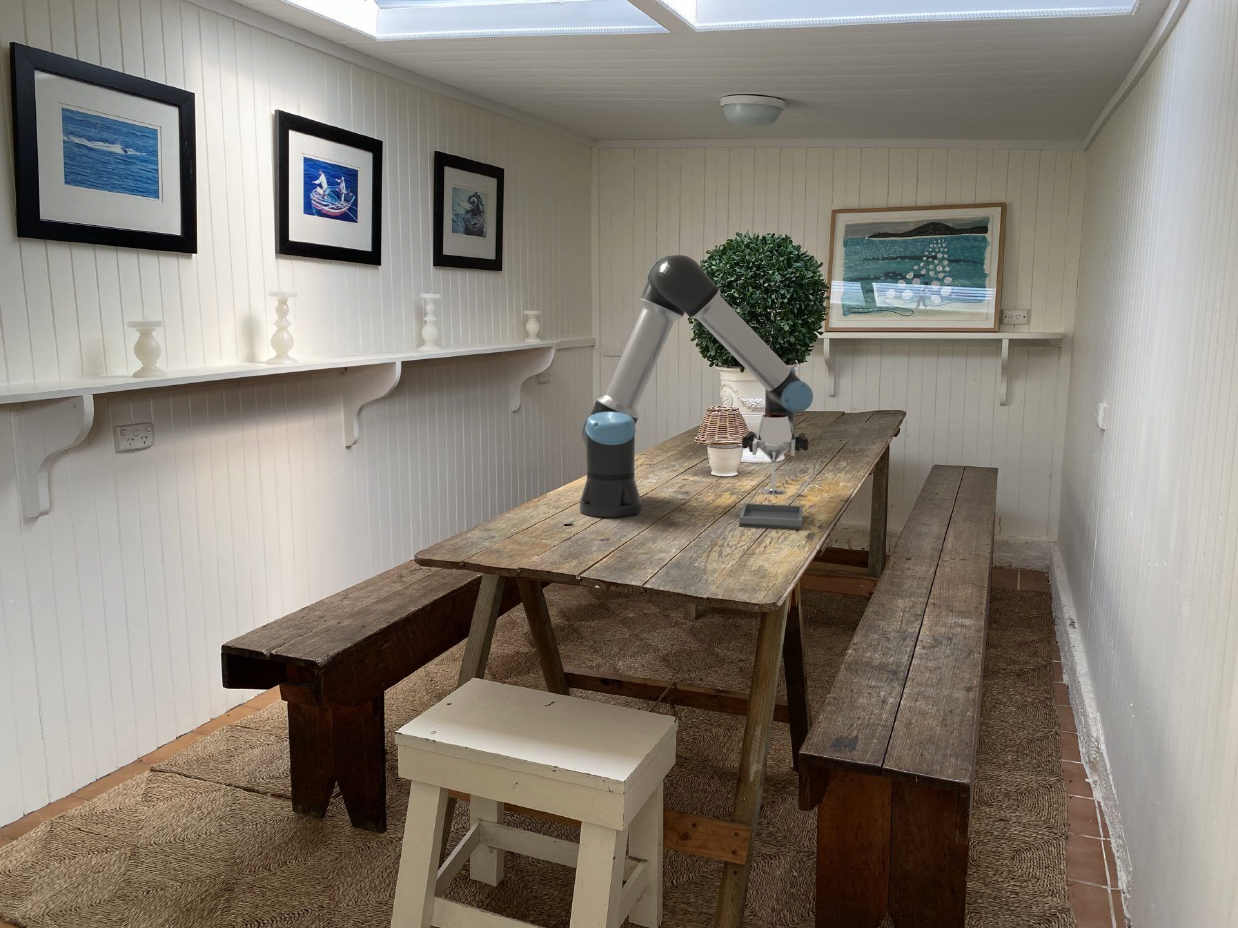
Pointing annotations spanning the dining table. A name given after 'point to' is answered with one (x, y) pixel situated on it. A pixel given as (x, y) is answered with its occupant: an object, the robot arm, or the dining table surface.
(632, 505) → the robot arm
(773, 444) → the wineglass
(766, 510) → the tray
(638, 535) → the dining table surface
